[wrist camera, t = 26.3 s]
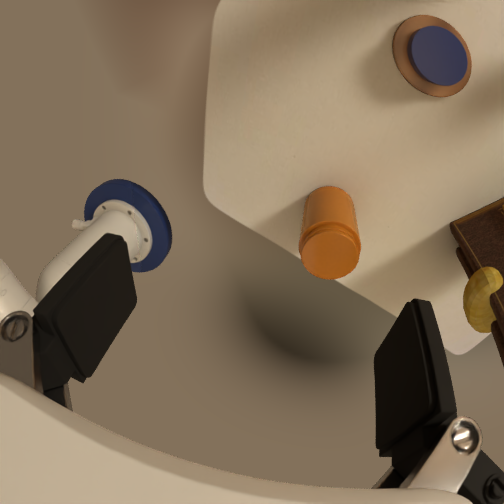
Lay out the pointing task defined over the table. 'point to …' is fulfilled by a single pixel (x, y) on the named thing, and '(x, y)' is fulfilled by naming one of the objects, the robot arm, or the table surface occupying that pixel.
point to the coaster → (405, 66)
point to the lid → (437, 55)
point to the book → (483, 268)
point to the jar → (329, 234)
